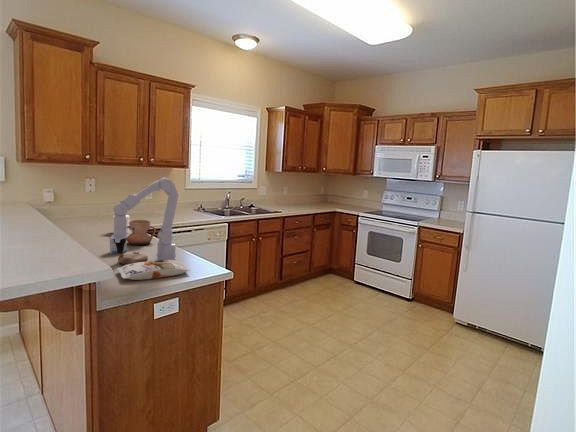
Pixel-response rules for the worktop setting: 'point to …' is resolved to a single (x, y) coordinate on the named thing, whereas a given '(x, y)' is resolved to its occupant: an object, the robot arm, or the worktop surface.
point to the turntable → (131, 258)
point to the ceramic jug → (140, 232)
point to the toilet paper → (126, 224)
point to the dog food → (152, 269)
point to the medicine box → (113, 246)
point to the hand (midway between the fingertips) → (120, 253)
